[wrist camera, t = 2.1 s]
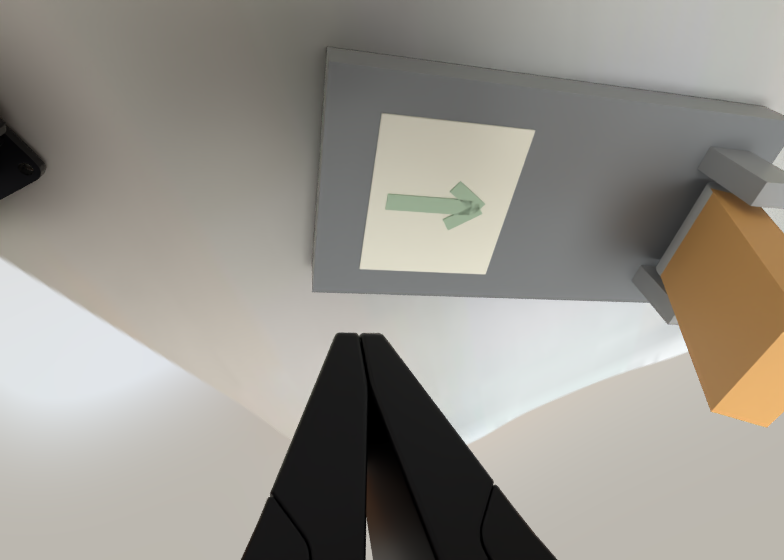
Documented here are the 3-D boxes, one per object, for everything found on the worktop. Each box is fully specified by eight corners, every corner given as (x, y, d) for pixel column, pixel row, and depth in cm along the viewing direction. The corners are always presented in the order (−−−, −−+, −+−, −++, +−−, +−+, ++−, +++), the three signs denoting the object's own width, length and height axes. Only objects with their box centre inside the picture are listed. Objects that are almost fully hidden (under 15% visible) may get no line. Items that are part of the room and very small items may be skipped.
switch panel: (312, 265, 23) (312, 342, 19) (326, 46, 17) (333, 91, 13) (655, 280, 27) (714, 346, 23) (764, 106, 21) (870, 154, 17)
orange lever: (652, 259, 24) (707, 410, 16) (701, 178, 21) (795, 313, 13) (693, 270, 23) (769, 428, 16) (748, 189, 21) (871, 333, 13)
